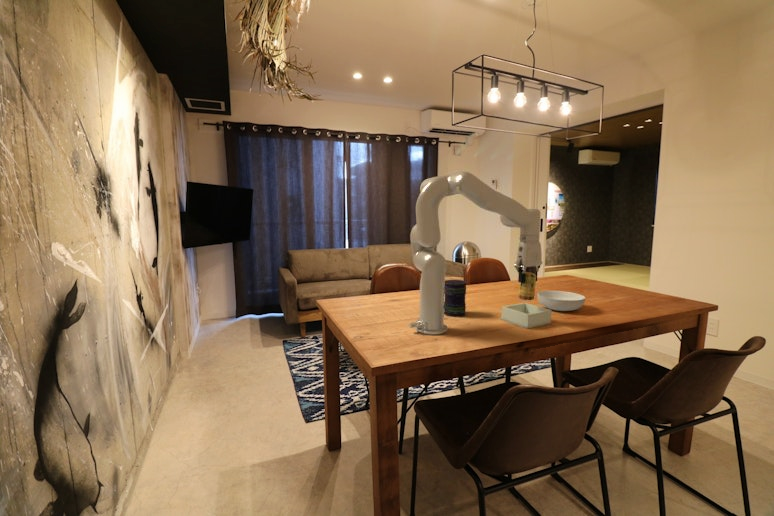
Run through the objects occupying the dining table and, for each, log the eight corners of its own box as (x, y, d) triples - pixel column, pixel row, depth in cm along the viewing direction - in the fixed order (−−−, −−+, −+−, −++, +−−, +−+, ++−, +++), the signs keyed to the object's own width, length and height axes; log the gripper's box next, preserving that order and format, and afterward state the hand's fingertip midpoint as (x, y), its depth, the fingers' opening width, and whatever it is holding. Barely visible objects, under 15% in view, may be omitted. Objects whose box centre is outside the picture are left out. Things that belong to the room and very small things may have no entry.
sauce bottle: (517, 299, 156) (519, 252, 153) (519, 296, 162) (521, 251, 159) (534, 301, 153) (536, 253, 150) (536, 298, 159) (538, 251, 156)
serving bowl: (593, 315, 168) (594, 300, 167) (546, 315, 168) (547, 300, 167) (571, 303, 188) (572, 290, 187) (529, 303, 189) (530, 290, 188)
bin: (527, 328, 149) (528, 314, 149) (501, 319, 162) (501, 306, 161) (550, 323, 156) (551, 310, 155) (524, 315, 168) (524, 302, 167)
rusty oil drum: (448, 309, 177) (449, 279, 175) (468, 312, 172) (469, 281, 170) (440, 315, 169) (440, 282, 167) (461, 318, 164) (461, 285, 162)
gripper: (521, 240, 147) (520, 285, 149) (551, 238, 155) (549, 281, 157) (507, 239, 153) (505, 282, 156) (536, 237, 161) (534, 278, 164)
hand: (527, 281), depth 156 cm, fingers closed on sauce bottle, 6 cm apart
